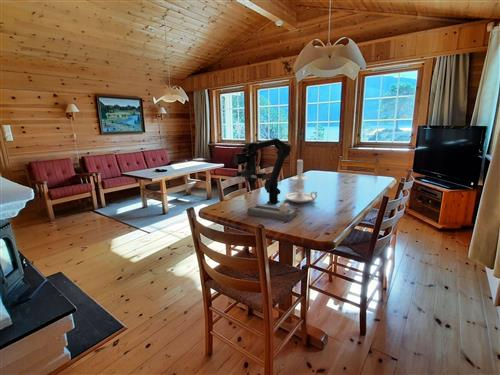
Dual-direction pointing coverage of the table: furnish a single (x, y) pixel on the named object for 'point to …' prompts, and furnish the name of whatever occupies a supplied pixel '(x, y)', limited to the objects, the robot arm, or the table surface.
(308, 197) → the candlestick
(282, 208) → the fader knob
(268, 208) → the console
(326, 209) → the table surface
